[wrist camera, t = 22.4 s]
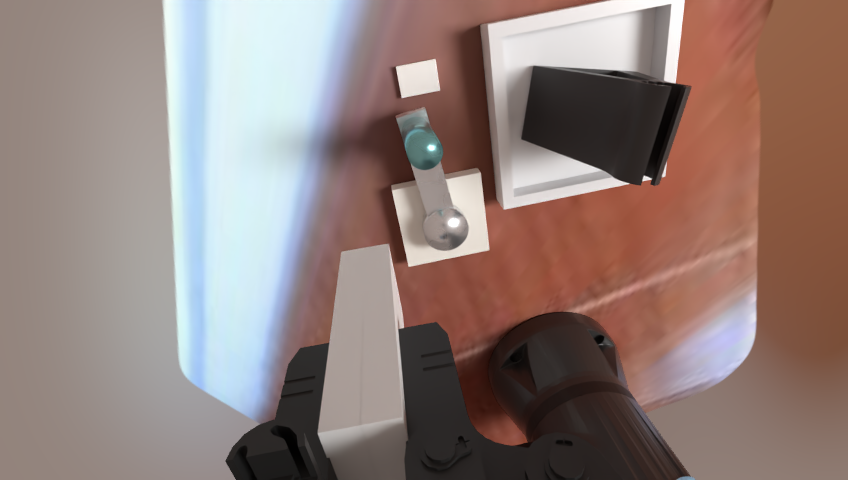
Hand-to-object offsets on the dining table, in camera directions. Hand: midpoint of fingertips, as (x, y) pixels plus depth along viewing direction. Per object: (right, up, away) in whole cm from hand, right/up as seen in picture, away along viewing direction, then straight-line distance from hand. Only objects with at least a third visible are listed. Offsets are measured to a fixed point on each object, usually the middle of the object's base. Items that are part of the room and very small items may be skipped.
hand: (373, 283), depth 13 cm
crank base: (+2, +8, +24) cm, 25 cm away
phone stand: (+15, +13, +22) cm, 30 cm away
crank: (+2, +7, +23) cm, 24 cm away
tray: (+15, +13, +23) cm, 30 cm away
